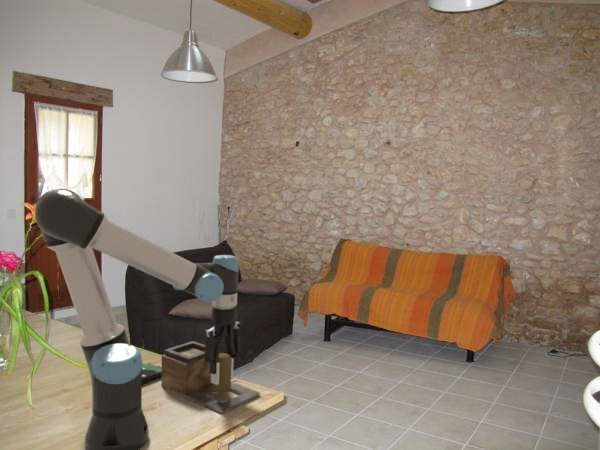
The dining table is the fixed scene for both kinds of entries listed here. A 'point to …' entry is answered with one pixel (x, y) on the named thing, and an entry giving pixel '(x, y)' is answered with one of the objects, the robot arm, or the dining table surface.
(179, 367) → the raised stand
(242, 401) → the low frame
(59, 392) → the dining table surface
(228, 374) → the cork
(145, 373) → the disk drive
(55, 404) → the dining table surface
